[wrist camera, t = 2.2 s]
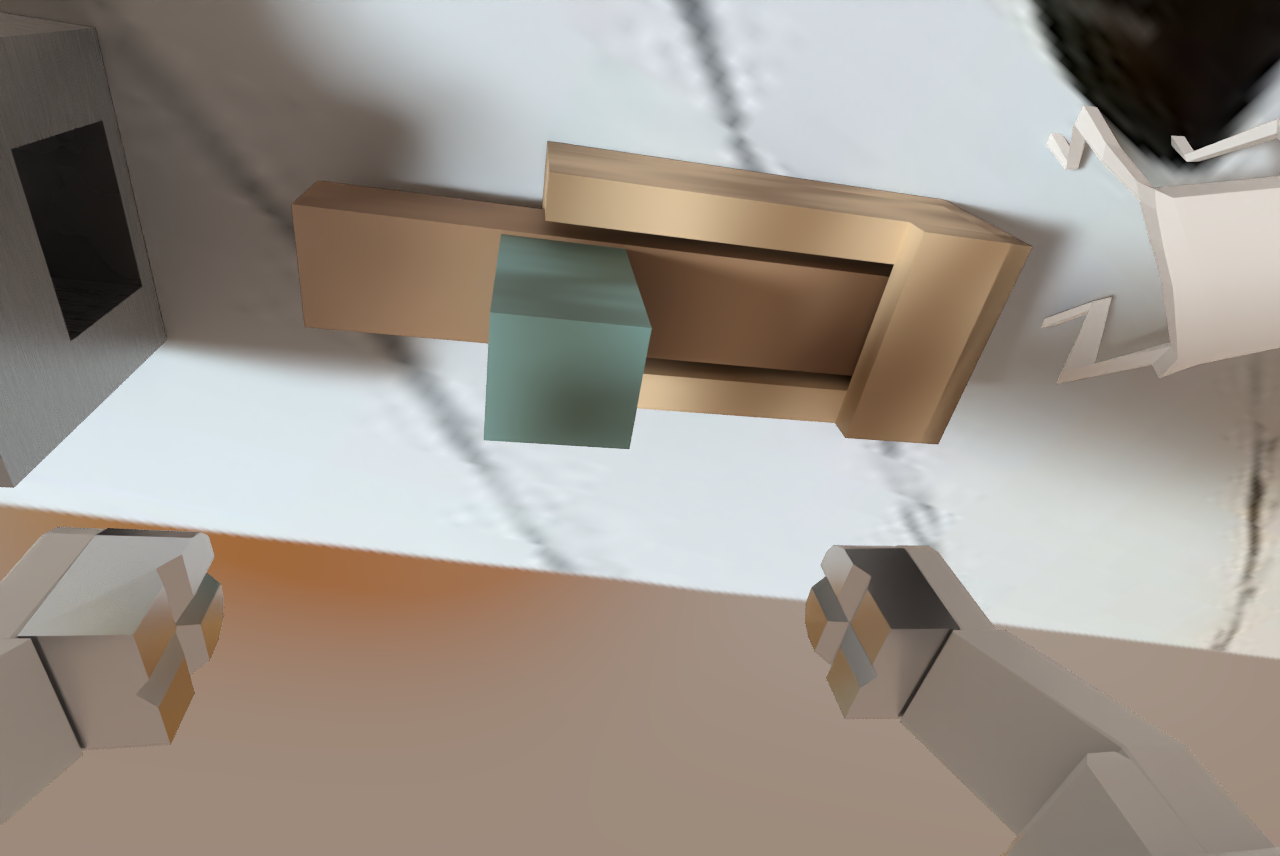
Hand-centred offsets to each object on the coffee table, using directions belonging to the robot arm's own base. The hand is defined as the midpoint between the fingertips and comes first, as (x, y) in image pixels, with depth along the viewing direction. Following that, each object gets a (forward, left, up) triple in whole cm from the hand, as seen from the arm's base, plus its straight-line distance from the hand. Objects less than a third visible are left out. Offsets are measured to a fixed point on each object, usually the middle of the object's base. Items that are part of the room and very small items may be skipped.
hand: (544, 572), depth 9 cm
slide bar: (-2, 0, -12) cm, 12 cm away
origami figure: (-20, -3, -13) cm, 24 cm away
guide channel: (-6, 0, -13) cm, 14 cm away
